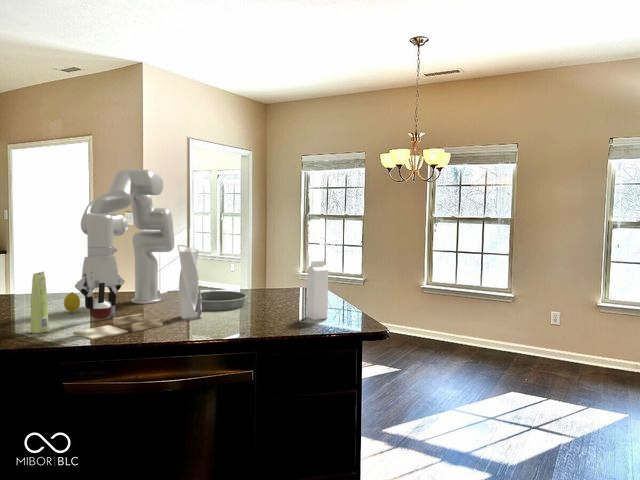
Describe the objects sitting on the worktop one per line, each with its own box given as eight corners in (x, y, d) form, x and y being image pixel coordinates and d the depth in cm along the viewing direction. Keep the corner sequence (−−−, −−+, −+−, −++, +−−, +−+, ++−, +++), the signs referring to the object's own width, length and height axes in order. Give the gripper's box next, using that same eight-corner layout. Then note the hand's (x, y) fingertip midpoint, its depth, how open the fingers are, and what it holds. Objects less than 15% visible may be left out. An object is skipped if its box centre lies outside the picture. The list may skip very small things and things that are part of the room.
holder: (141, 320, 168) (141, 313, 168) (162, 325, 160) (162, 318, 160) (112, 325, 159) (112, 318, 159) (133, 331, 152) (133, 324, 151)
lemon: (73, 314, 176) (73, 293, 175) (60, 313, 177) (60, 293, 176) (83, 311, 181) (83, 291, 181) (71, 310, 182) (70, 290, 182)
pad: (109, 326, 158) (109, 325, 158) (128, 332, 151) (128, 330, 151) (73, 333, 148) (73, 331, 148) (91, 339, 141) (91, 338, 141)
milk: (327, 318, 176) (329, 261, 175) (313, 320, 173) (315, 262, 172) (319, 315, 182) (321, 260, 180) (306, 316, 179) (307, 260, 177)
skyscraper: (179, 321, 169) (179, 245, 168) (175, 316, 176) (175, 244, 175) (202, 319, 173) (203, 245, 171) (197, 314, 180) (198, 244, 179)
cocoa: (95, 316, 153) (94, 280, 153) (115, 315, 154) (114, 279, 154) (85, 321, 144) (83, 283, 144) (106, 320, 145) (105, 282, 144)
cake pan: (177, 308, 192) (177, 297, 192) (211, 298, 215) (212, 289, 215) (226, 313, 183) (227, 302, 183) (257, 303, 206) (257, 293, 205)
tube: (27, 331, 150) (26, 272, 149) (44, 328, 153) (44, 270, 152) (34, 334, 146) (33, 273, 145) (51, 331, 150) (50, 272, 149)
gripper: (119, 250, 157) (120, 301, 158) (67, 253, 144) (67, 309, 144) (131, 251, 153) (131, 304, 154) (78, 254, 139) (79, 312, 140)
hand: (100, 306), depth 149 cm, fingers closed on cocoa, 6 cm apart
